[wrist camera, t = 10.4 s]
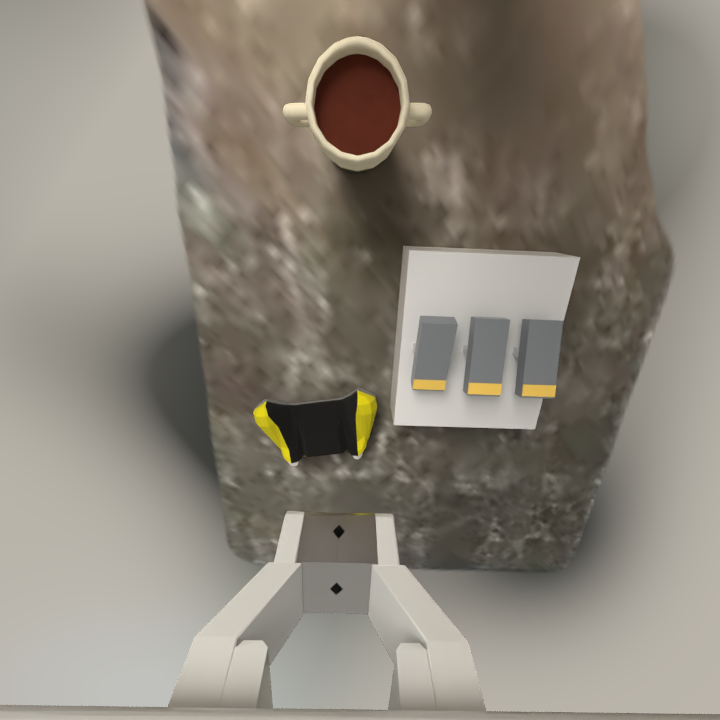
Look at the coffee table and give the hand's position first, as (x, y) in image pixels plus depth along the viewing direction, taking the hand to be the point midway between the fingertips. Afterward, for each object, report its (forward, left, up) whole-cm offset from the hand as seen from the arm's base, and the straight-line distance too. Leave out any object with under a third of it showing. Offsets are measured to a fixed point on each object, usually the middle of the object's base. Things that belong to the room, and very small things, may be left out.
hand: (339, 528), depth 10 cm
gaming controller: (+17, -4, -34) cm, 39 cm away
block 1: (+5, +8, -27) cm, 29 cm away
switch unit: (+5, +14, -34) cm, 37 cm away
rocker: (+5, +14, -27) cm, 31 cm away
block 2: (+5, +19, -27) cm, 34 cm away
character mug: (-15, 0, -34) cm, 37 cm away
